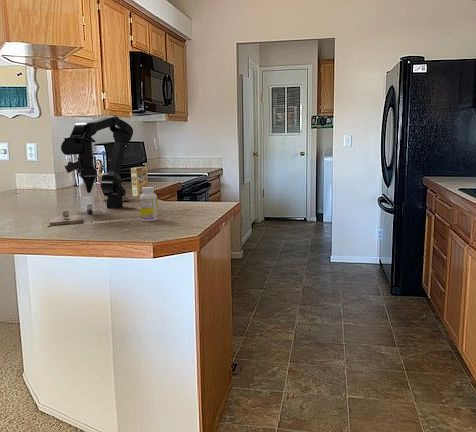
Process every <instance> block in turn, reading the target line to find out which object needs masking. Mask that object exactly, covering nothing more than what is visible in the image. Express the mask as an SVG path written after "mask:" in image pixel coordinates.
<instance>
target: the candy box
mask: <svg viewBox="0 0 476 432" xmlns="http://www.w3.org/2000/svg"><path fill="white" fill-rule="evenodd" d="M130 176H131V188H132V189H131V191H132V196H133V197H140V195H141V194H142V188H143V187H149V183H148V182H149V181H148V179H149V177H148V167H147V166H141V167H140V166H139V167H138V166H137V167H131V168H130Z"/></svg>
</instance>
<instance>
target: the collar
mask: <svg viewBox="0 0 476 432" xmlns="http://www.w3.org/2000/svg"><path fill="white" fill-rule="evenodd" d="M78 190H79V196H80V197H81V198H85V197H87V198H88V197H89V198H90V197H98V189H97V183H96V182H94V183H93V186H92V189H91V192H90V193H88V192H87V189H86V185H85V183H84V182H83V183H82V182H81V183H78Z"/></svg>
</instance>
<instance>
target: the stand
mask: <svg viewBox="0 0 476 432" xmlns="http://www.w3.org/2000/svg"><path fill="white" fill-rule="evenodd" d="M76 214H77V215H81V216H82V217H84V216H91V215H92V216H93V215H104V212H103V211H102V210H101V209H99V210H93V203H90V204H86V211H77V212H76Z"/></svg>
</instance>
